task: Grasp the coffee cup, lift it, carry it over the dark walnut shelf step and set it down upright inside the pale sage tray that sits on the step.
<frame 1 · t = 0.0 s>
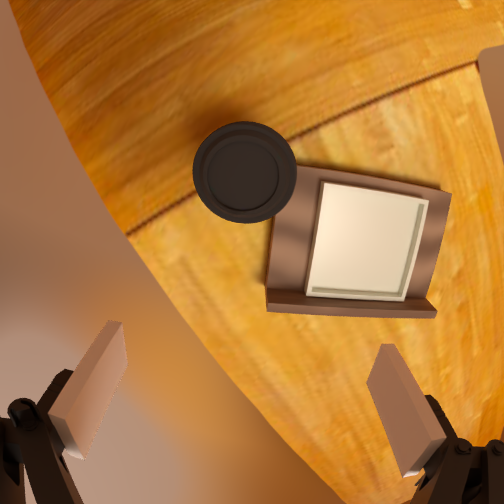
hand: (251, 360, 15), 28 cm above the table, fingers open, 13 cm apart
shelf: (358, 236, 42), on the table
tray: (365, 243, 39), resting on shelf
coffee cup: (247, 162, 39), on the table
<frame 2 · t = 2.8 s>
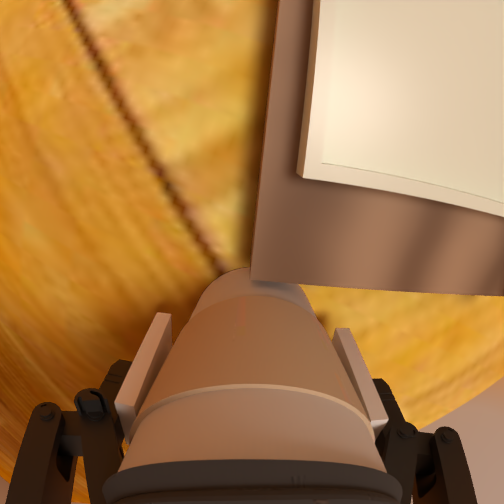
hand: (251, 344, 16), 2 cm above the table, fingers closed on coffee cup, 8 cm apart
shelf: (425, 67, 13), on the table
tray: (454, 58, 11), resting on shelf
coffee cup: (252, 318, 19), on the table, touching gripper
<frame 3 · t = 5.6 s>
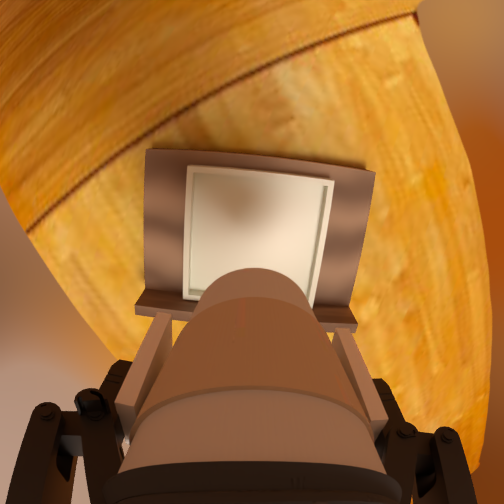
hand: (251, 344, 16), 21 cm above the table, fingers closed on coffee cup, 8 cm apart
shelf: (254, 229, 36), on the table
tray: (254, 237, 34), resting on shelf
coffee cup: (252, 319, 19), point 19 cm above the table, touching gripper
when the fingers open (7 cm above the table, at t = 8.2 s): coffee cup drops 1 cm, resting on tray.
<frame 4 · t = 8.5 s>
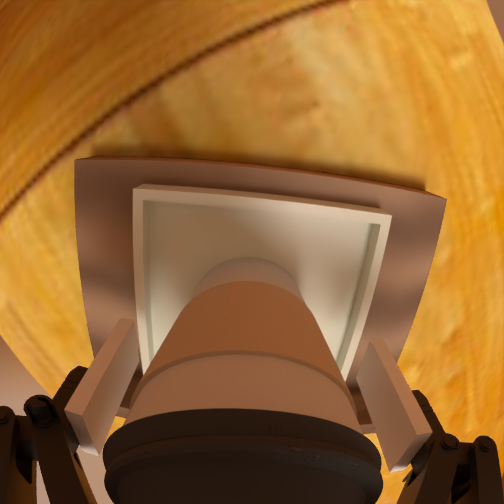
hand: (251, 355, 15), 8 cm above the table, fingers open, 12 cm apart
shelf: (252, 284, 23), on the table
tray: (252, 304, 20), resting on shelf
coffee cup: (247, 306, 20), point 3 cm above the table, touching tray
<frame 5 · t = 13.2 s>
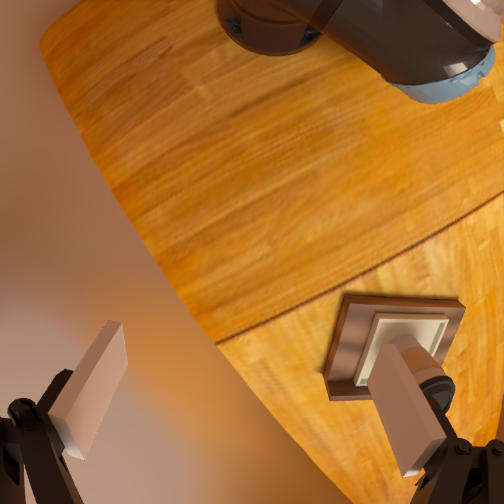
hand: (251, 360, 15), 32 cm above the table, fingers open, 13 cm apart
shelf: (394, 339, 52), on the table
tray: (399, 348, 50), resting on shelf
coffee cup: (399, 349, 49), point 3 cm above the table, touching tray
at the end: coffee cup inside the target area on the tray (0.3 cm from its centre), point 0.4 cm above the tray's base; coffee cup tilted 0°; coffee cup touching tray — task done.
